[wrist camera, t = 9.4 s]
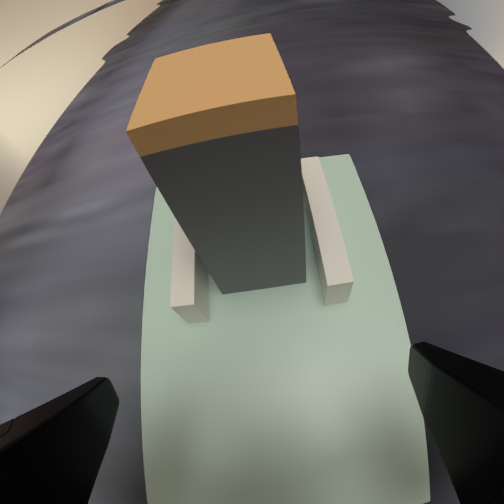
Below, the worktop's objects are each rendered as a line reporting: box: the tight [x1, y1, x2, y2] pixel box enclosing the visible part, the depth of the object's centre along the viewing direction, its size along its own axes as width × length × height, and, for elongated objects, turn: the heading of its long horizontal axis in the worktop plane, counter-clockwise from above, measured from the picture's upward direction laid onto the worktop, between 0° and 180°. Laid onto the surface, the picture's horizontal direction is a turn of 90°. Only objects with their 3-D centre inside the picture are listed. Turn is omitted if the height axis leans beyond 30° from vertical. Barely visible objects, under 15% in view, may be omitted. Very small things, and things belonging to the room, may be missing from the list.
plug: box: [126, 33, 306, 294], centre depth 13 cm, size 5×4×11 cm
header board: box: [141, 154, 430, 504], centre depth 14 cm, size 22×14×5 cm, turn 5°
